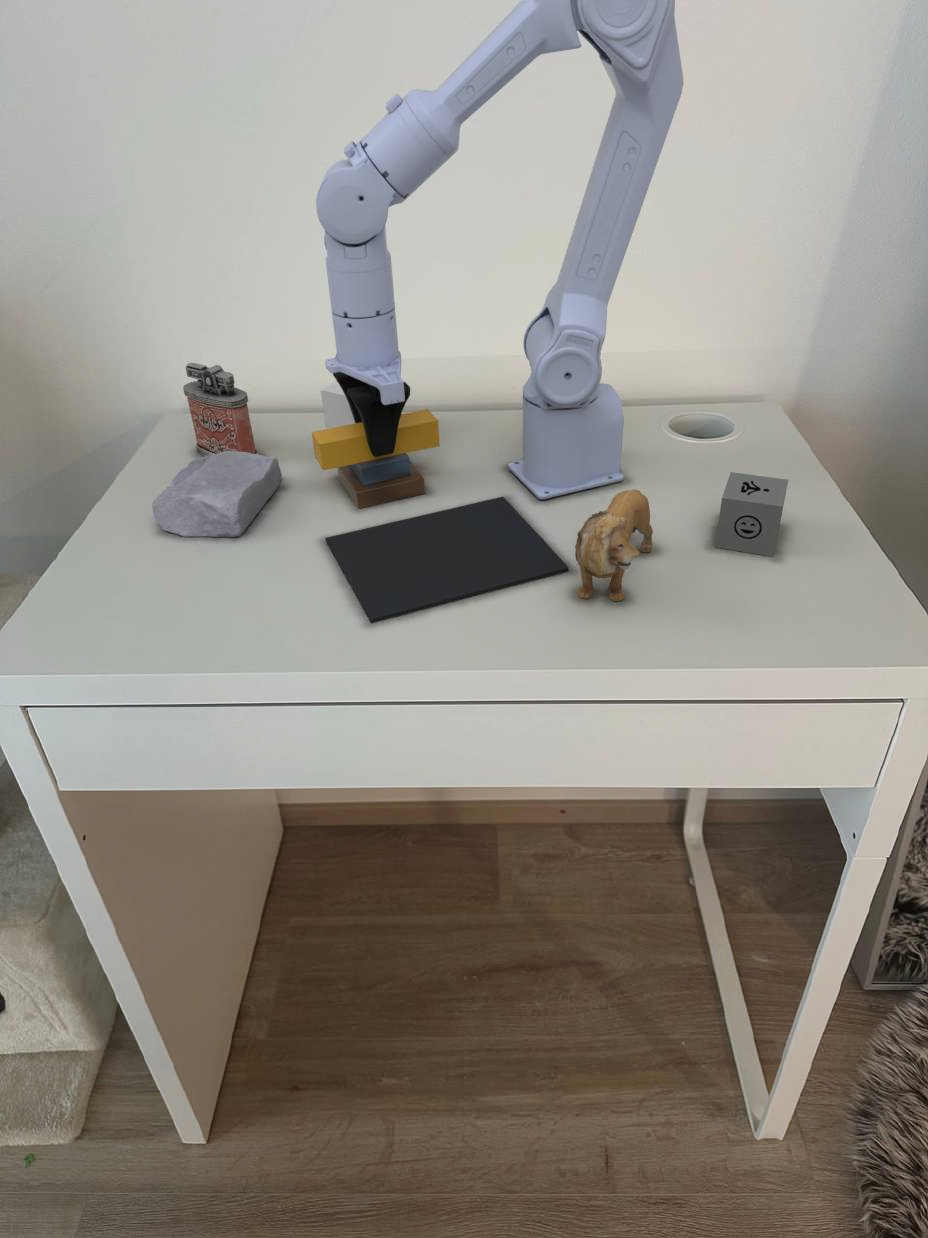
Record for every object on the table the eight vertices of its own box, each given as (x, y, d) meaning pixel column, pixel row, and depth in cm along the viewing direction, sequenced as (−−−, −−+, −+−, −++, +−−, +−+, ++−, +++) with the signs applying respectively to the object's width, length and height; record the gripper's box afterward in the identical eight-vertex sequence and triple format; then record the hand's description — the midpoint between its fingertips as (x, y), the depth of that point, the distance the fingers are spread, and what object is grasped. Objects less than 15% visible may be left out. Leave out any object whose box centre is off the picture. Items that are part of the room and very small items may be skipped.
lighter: (266, 457, 101) (250, 368, 95) (244, 470, 99) (226, 379, 93) (212, 441, 105) (194, 354, 99) (190, 453, 102) (170, 365, 97)
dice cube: (723, 520, 87) (730, 471, 84) (779, 528, 85) (788, 479, 83) (714, 547, 83) (722, 497, 80) (773, 556, 82) (782, 506, 79)
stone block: (155, 549, 90) (247, 539, 87) (134, 505, 87) (228, 492, 84) (208, 494, 99) (292, 483, 96) (191, 452, 97) (277, 439, 94)
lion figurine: (630, 631, 74) (639, 533, 69) (564, 621, 75) (567, 524, 70) (657, 537, 85) (666, 446, 80) (599, 529, 86) (604, 440, 81)
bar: (429, 434, 95) (427, 408, 94) (439, 446, 93) (438, 420, 92) (315, 458, 92) (311, 431, 90) (323, 470, 90) (319, 444, 88)
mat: (503, 499, 92) (503, 496, 91) (568, 571, 81) (569, 567, 81) (325, 541, 87) (325, 537, 86) (371, 623, 76) (370, 619, 76)
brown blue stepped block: (402, 464, 99) (399, 431, 96) (425, 493, 93) (423, 459, 91) (338, 478, 97) (334, 444, 94) (358, 508, 91) (354, 474, 89)
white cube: (360, 420, 108) (354, 370, 104) (402, 431, 105) (398, 380, 102) (327, 440, 104) (320, 389, 100) (370, 452, 101) (364, 399, 98)
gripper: (300, 292, 89) (318, 425, 97) (343, 340, 78) (359, 486, 86) (371, 281, 91) (383, 412, 99) (422, 327, 80) (431, 470, 88)
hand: (377, 446), depth 92 cm, fingers closed on bar, 3 cm apart
